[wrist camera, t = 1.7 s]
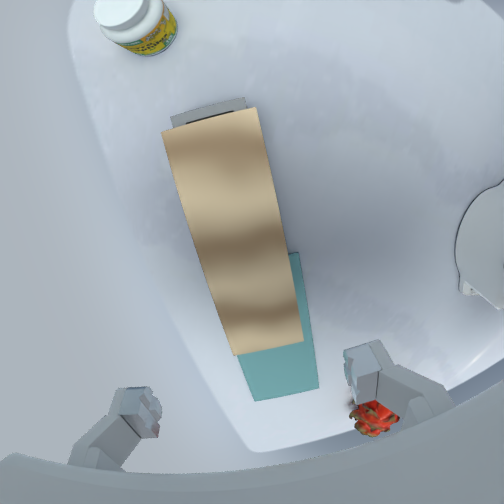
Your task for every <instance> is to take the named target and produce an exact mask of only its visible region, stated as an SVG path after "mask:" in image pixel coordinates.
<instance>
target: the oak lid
mask: <svg viewBox="0 0 504 504" xmlns="http://www.w3.org/2000/svg"><path fill="white" fill-rule="evenodd" d="M161 134H162V138H163V142H164V145H165V149H166V152H167V156H168V160H169V163H170V167H171V170H172V173H173V177H174V180H175V184H176V187H177V190H178V194H179V197H180V200H181V204H182V207H183V210H184V213H185V217H186V220H187V223H188V226H189V229H190V232H191V235H192V239H193V242H194V245H195V248H196V251H197V254H198V257H199V260H200V263H201V266H202V269H203V272H204V275H205V278H206V281H207V284H208V286H209V289H210V292H211V295H212V298H213V301H214V304H215V306H216V309H217V312H218V315H219V318H220V320H221V323H222V326H223V329H224V331H225V334H226V337H227V339H228V342H229V345H230V347H231V350H232V353H233V355H234V356H235V355H241V354H246V353H251V352H256V351H261V350H266V349H271V348H276V347H280V346H285V345H289V344H294V343H298V342H302V341H304V338H303V332H302V326H301V321H300V315H299V309H298V304H297V298H296V293H295V288H294V282H293V277H292V272H291V267H290V261H289V256H288V251H287V246H286V241H285V236H284V231H283V226H282V222H281V217H280V212H279V207H278V202H277V198H276V193H275V188H274V184H273V179H272V175H271V170H270V166H269V161H268V157H267V152H266V148H265V144H264V139H263V135H262V131H261V126H260V122H259V118H258V114H257V110H256V107H253V108H249V109H244V110H240V111H236V112H231V113H227V114H223V115H219V116H215V117H211V118H208V119H204V120H200V121H197V122H193V123H190V124H186V125H183V126H179V127H176V128H173V129H170V130H166V131H163V132H161Z"/></svg>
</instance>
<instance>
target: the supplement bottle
mask: <svg viewBox="0 0 504 504" xmlns="http://www.w3.org/2000/svg"><path fill="white" fill-rule="evenodd" d="M93 15H94V18H95V20H96V22H97V23H99V24H100V28H101V31H102V33H103V34H104V35H105V37H107V38H108V39H109V40H111V41H113V42H115V43H116V44H118V45H120V46H122V47H124V48H126V49H127V50H129V51H131V52H133V53H135V54H138V55H141V56H151V55H155V54H158V53H160V52H162V51H164V50H165V49H166V48H167V47H168V46H169V45H170V44H171V43H172V41H173V40H174V38H175V36H176V34H177V22H176V20H175V18H174V16H173V15H172V13H171V12H170V11H169V9H168V8H167V6H166V5H165V3H164V2H163V1H162V0H97V1H96V3H95V5H94V9H93Z"/></svg>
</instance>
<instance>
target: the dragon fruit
mask: <svg viewBox="0 0 504 504" xmlns="http://www.w3.org/2000/svg"><path fill="white" fill-rule="evenodd" d="M352 404H355V401H354V400H353V402H352ZM358 407H359V408H358V409H357V410H353V411H352V412H351V413H350V415H349V418H350V419H352V417H354V418H355V420H356V421H357V420H358V421H357V422H356V423H355V426H354V427H355V428H356V429H357V430H358V431H360V432H361V434H363V435H368V436H369V437H376V436H378V435H379V434H380V432H382V431H384V432H387V431H390V425H391V424H393V423H396V422H398V421H399V419H400V417H399V416H398V415H396V414H395V413H393V412H392V411H390V410H389V409H388V408H386V407H385V406H383V405H382V404H380V403H379V402H378V401H376V400H373V401H369V402H366V403H362V404H359V405H358Z"/></svg>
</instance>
